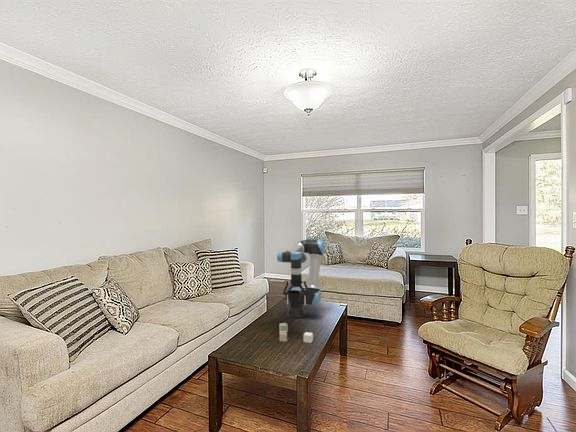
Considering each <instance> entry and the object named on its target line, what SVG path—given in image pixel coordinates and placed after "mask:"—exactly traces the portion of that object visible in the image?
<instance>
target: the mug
mask: <svg viewBox="0 0 576 432" xmlns="http://www.w3.org/2000/svg"><path fill="white" fill-rule="evenodd" d="M300 294H303V293H300V292H299V291H297V290H291V291H289V293H288V298H289V306H290V305H291V306H297V305H300V303H301V302H302V300H303V299H304V296H305V295H304V294H303V298H302V300H301V302H300V303H299V298H300Z"/></svg>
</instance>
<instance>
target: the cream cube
mask: <svg viewBox="0 0 576 432" xmlns="http://www.w3.org/2000/svg"><path fill="white" fill-rule="evenodd" d="M313 340H314V333H313V332H308V331H305V332H304V333H303V343H307V344H311V343H312V342H313Z"/></svg>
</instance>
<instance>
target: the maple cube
mask: <svg viewBox="0 0 576 432" xmlns="http://www.w3.org/2000/svg"><path fill="white" fill-rule="evenodd" d="M279 342H280V343H281V342H288V332H287V331H280V330H279Z"/></svg>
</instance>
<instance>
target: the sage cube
mask: <svg viewBox="0 0 576 432" xmlns="http://www.w3.org/2000/svg"><path fill="white" fill-rule="evenodd" d="M278 327H279V329H278V330H279V332H280V331H287V333H288V332H289V325H288V324H287V322H282V323H281V322H280V323H279V325H278Z"/></svg>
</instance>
